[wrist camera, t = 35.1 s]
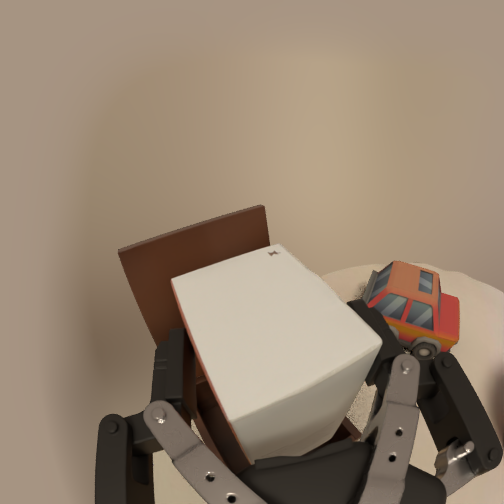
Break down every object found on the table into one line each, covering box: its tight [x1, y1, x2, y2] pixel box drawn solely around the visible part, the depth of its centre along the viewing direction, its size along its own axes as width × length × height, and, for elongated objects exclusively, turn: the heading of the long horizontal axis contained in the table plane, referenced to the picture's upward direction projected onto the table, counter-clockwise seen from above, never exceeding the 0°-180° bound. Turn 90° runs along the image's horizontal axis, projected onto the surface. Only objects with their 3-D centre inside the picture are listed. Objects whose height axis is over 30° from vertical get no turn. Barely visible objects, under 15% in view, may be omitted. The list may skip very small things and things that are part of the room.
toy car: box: [362, 261, 460, 360], centre depth 35 cm, size 12×17×10 cm
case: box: [193, 375, 362, 475], centre depth 24 cm, size 15×13×8 cm
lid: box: [118, 205, 270, 378], centre depth 24 cm, size 15×13×1 cm
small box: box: [171, 244, 382, 465], centre depth 14 cm, size 8×6×13 cm
